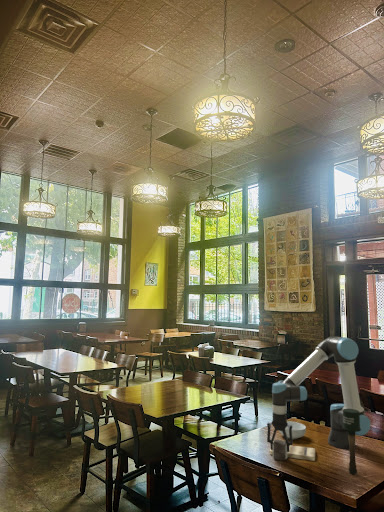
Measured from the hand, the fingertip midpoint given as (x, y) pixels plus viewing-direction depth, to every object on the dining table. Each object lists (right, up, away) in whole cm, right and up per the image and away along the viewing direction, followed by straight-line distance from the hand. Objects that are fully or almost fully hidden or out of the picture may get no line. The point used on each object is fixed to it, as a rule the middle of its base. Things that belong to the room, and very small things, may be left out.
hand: (280, 457), depth 205 cm
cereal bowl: (+15, -6, +34) cm, 38 cm away
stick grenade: (+32, 0, -17) cm, 36 cm away
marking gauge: (+2, -1, +5) cm, 6 cm away
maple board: (+9, -2, +7) cm, 12 cm away
